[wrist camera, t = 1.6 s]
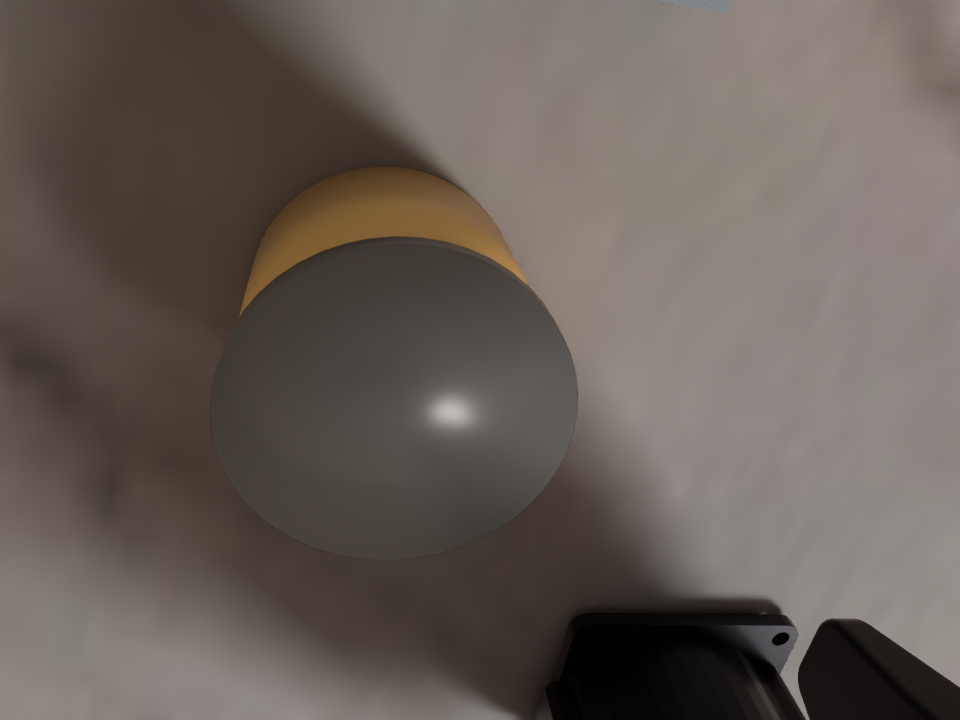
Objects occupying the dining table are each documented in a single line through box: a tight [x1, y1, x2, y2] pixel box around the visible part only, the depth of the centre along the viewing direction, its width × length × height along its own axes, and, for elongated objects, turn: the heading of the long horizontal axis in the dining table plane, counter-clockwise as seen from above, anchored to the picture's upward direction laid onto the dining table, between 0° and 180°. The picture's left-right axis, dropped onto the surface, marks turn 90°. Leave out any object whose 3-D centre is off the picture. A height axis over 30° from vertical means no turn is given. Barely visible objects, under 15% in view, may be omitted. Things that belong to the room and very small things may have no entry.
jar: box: [210, 166, 578, 560], centre depth 14 cm, size 5×5×5 cm
